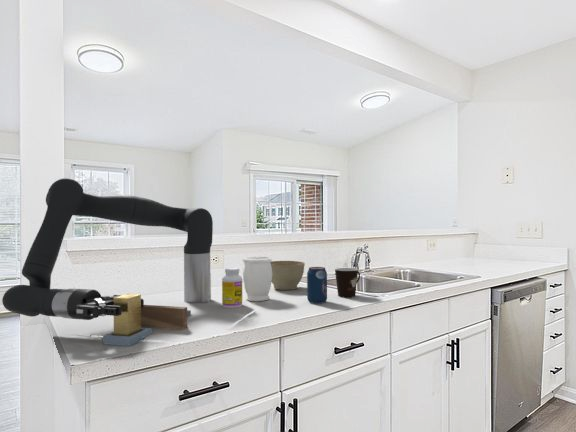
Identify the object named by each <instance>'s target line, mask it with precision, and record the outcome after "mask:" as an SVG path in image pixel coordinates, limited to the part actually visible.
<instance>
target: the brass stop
mask: <svg viewBox="0 0 576 432" xmlns="http://www.w3.org/2000/svg"><path fill="white" fill-rule="evenodd" d="M121 295H122V296H118V297H115V298H114V306H121V315H119V316H113V332H114V335H115V336H127V337H130V336H132V335H134V334H136V333H138V332H141V328H142V327H141V299H142V295H141V294H139V293H138V294H134V293H126V294H121Z"/></svg>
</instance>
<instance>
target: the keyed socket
mask: <svg viewBox="0 0 576 432" xmlns="http://www.w3.org/2000/svg"><path fill="white" fill-rule="evenodd" d="M152 330H153V329H152V327H141V332H138V333H136V334H134V335H132V336H130V337H127V336H115V335H114V331H112V332H109V333H107V334H105V335H103V336H102V344H103V345H112V346H113V345H114V346H124V347H125V346H126V347H127V346H128V347H131V346H133V345H135V344H137V343H140V342H141V341H143V340H145V339H146V337H147V336H149V335H151V334H152Z"/></svg>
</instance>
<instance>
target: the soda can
mask: <svg viewBox="0 0 576 432" xmlns="http://www.w3.org/2000/svg"><path fill="white" fill-rule="evenodd" d="M306 285H307V286H306V289H307V290H306V293H307V294H306V295H307V301H308V302H309V303H310V304H313V305H315V304H316V305H318V304H319V305H322V304H326V302H327V300H328V273H327V270H326V267H323V266H311V267H308V271H307V273H306Z"/></svg>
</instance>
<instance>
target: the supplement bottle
mask: <svg viewBox="0 0 576 432" xmlns="http://www.w3.org/2000/svg"><path fill="white" fill-rule="evenodd" d="M224 273H225V275H224V276H223V277H222V279H221V291H222V292H221V294H222V295H221V301H222V303H221V304H222V307H223V308H229V309H230V308H231V309H232V308H240V307H242V306H243V276H240V275H239V274H240V268H239V267H226V268H224Z"/></svg>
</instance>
